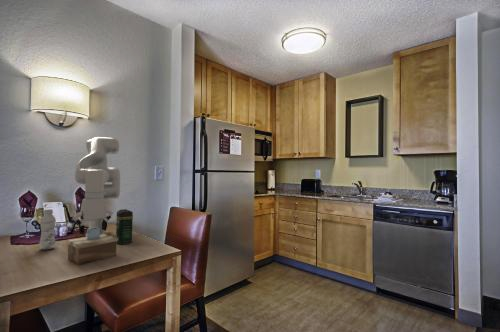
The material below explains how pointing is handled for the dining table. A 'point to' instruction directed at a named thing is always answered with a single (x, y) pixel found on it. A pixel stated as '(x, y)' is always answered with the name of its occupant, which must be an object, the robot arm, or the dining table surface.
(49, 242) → the plastic bottle
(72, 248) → the box
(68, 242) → the lid
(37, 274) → the dining table surface
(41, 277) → the dining table surface
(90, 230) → the blue cylinder with recess
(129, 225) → the coffee jar
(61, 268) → the dining table surface
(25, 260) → the dining table surface
